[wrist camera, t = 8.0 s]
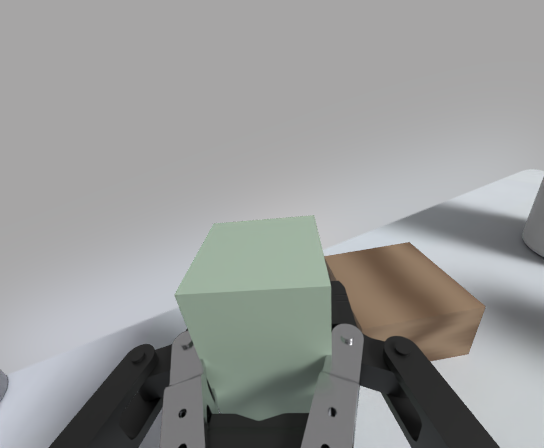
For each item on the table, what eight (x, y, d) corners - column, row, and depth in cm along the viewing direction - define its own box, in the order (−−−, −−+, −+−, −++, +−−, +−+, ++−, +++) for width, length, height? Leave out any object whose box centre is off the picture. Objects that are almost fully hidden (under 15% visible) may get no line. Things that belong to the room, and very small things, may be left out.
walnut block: (359, 376, 22) (362, 328, 19) (325, 296, 31) (324, 256, 28) (467, 355, 22) (485, 306, 19) (403, 282, 31) (409, 242, 28)
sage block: (236, 452, 13) (174, 294, 8) (248, 361, 17) (213, 223, 12) (332, 453, 13) (331, 286, 8) (320, 359, 17) (314, 215, 12)
